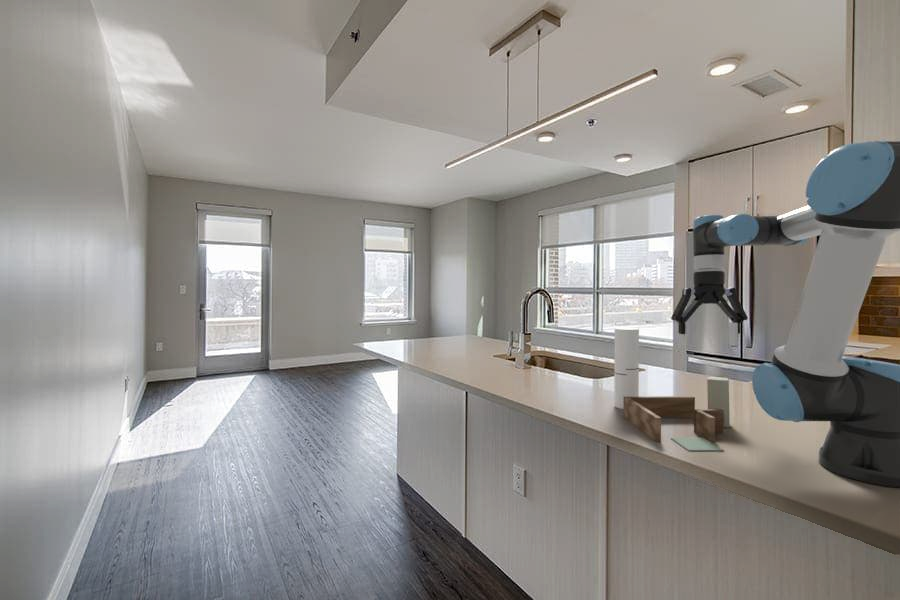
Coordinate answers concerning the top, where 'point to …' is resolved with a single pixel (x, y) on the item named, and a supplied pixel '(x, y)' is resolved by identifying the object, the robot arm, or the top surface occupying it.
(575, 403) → the top surface
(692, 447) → the pad
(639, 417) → the wooden u-shaped enclosure
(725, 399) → the box
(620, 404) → the cylindrical container
